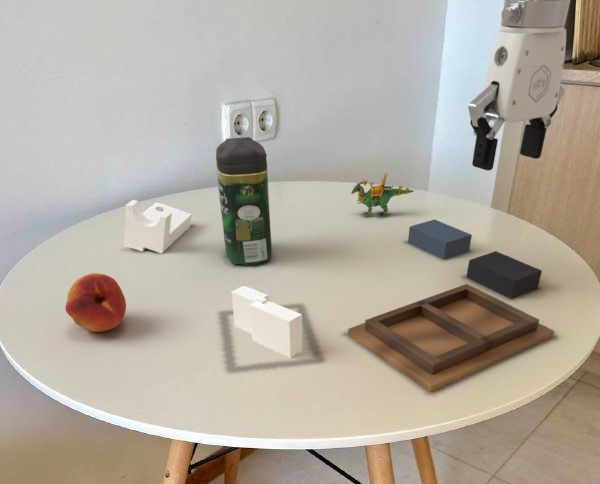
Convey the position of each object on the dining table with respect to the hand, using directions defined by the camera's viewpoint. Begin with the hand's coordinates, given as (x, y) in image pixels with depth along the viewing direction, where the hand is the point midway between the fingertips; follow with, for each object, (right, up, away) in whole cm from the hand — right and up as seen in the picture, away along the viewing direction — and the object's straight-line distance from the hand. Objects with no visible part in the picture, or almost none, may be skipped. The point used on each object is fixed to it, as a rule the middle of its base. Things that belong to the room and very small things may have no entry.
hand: (506, 162), depth 83 cm
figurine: (-13, +3, +34) cm, 36 cm away
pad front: (-5, -7, +21) cm, 22 cm away
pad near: (+2, -15, +9) cm, 18 cm away
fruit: (-57, -23, 0) cm, 61 cm away
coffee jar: (-38, -9, +19) cm, 43 cm away
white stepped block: (-33, -25, -2) cm, 41 cm away
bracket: (-54, -4, +26) cm, 60 cm away
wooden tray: (-9, -25, -3) cm, 26 cm away
